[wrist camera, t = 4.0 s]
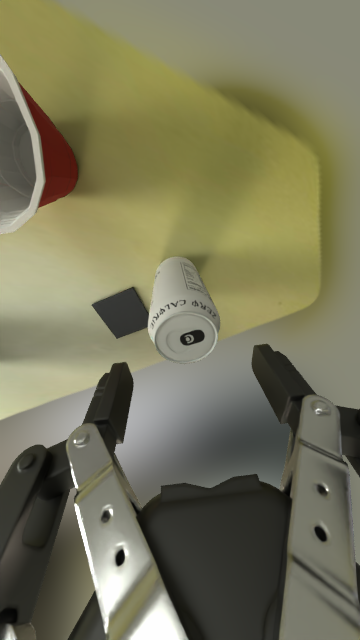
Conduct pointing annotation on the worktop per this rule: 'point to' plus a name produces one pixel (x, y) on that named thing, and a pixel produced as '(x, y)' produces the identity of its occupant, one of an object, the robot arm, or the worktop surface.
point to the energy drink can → (182, 313)
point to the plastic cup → (29, 156)
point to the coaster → (123, 313)
